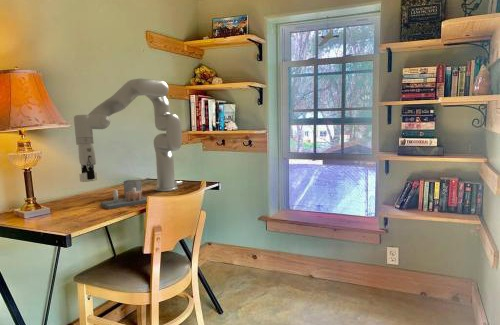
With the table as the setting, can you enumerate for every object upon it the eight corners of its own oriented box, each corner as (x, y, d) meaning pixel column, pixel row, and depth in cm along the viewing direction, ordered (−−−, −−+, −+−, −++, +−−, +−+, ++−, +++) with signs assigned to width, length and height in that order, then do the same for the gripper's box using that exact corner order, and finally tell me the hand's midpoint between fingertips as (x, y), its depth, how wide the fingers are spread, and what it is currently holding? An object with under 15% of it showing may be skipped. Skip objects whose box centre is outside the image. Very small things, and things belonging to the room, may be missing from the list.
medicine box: (142, 196, 196) (141, 180, 195) (137, 198, 192) (136, 181, 191) (129, 195, 199) (128, 179, 198) (124, 197, 195) (123, 181, 193)
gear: (93, 178, 185) (93, 171, 185) (99, 180, 180) (98, 173, 179) (78, 180, 181) (77, 173, 180) (83, 182, 175) (82, 175, 175)
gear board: (140, 198, 191) (139, 185, 190) (150, 202, 183) (149, 187, 182) (100, 205, 178) (99, 190, 177) (108, 209, 170) (107, 194, 169)
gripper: (99, 141, 173) (102, 179, 176) (87, 139, 187) (90, 175, 189) (82, 142, 169) (86, 181, 171) (71, 141, 182) (74, 177, 184)
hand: (88, 177), depth 180 cm, fingers closed on gear, 7 cm apart
